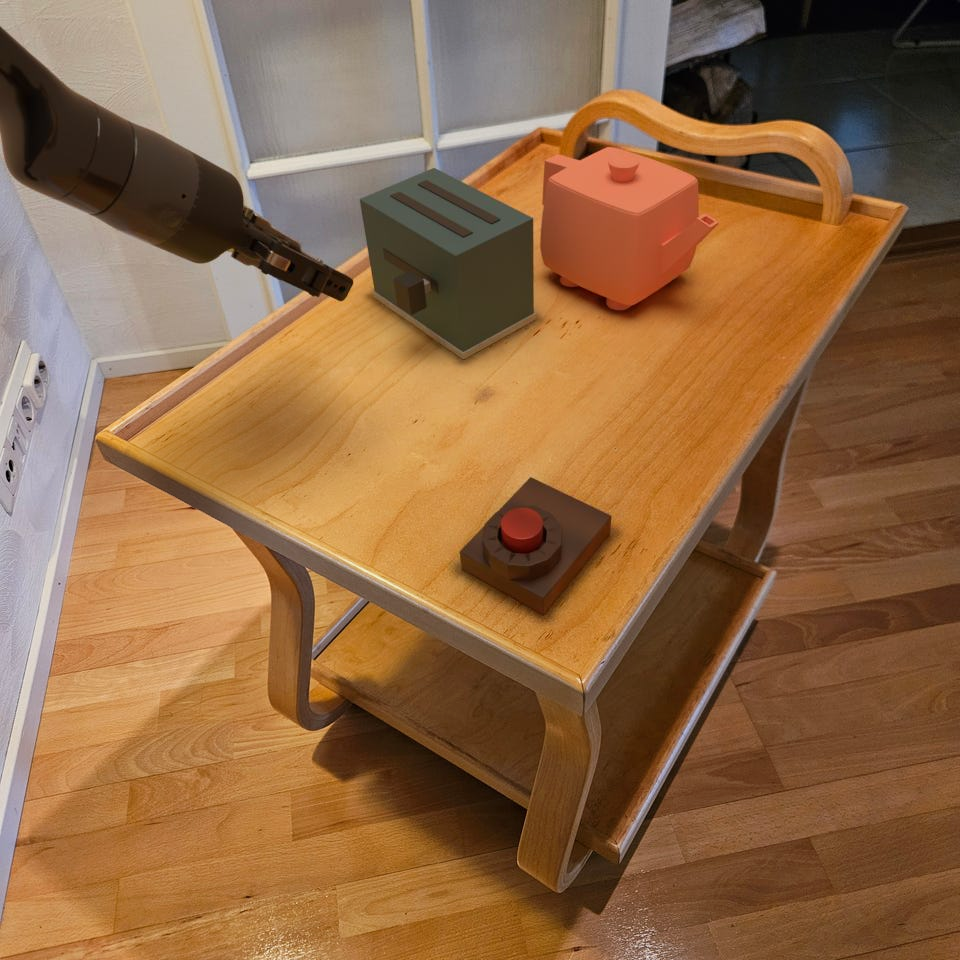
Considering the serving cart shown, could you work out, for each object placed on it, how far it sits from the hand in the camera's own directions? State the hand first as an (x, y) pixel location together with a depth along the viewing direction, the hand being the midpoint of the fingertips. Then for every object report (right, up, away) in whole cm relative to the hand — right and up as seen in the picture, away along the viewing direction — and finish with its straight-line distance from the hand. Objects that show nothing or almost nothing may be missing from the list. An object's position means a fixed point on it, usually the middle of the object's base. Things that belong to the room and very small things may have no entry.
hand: (320, 271), depth 74 cm
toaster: (+11, 0, +18) cm, 22 cm away
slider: (+8, -1, +10) cm, 12 cm away
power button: (+18, -23, -10) cm, 31 cm away
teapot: (+30, +4, +21) cm, 37 cm away
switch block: (+19, -25, -7) cm, 32 cm away
